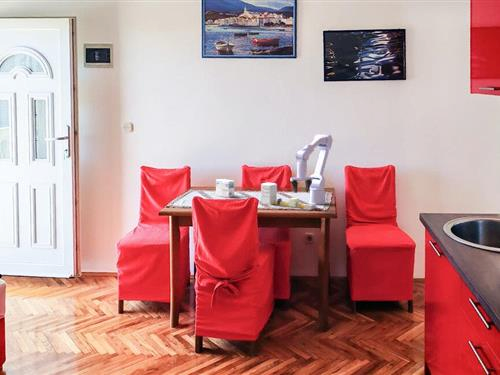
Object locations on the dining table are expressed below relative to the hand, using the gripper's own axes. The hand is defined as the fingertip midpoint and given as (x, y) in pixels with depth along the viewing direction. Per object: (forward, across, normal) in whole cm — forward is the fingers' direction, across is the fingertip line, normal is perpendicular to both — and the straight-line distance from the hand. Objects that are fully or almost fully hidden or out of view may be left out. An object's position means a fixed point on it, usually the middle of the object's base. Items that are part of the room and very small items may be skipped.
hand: (301, 192), depth 385 cm
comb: (+9, -4, +4) cm, 11 cm away
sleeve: (+9, +3, -4) cm, 11 cm away
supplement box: (+10, +14, -18) cm, 24 cm away
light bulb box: (+10, +32, -49) cm, 59 cm away
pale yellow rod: (+9, +3, -5) cm, 11 cm away
